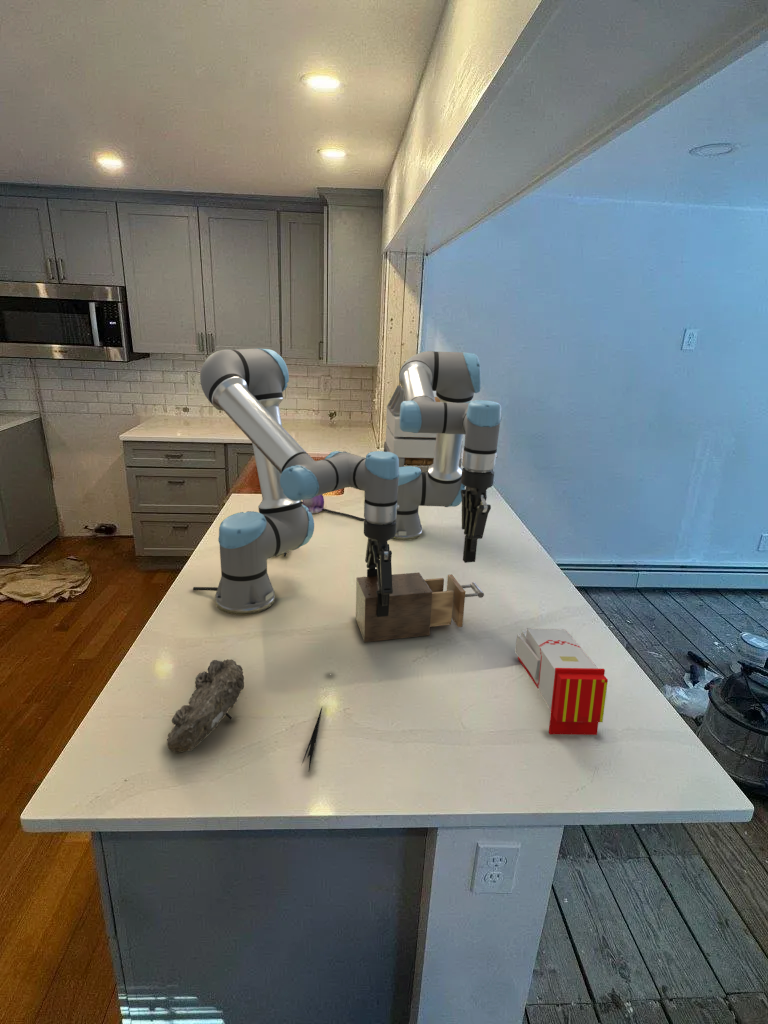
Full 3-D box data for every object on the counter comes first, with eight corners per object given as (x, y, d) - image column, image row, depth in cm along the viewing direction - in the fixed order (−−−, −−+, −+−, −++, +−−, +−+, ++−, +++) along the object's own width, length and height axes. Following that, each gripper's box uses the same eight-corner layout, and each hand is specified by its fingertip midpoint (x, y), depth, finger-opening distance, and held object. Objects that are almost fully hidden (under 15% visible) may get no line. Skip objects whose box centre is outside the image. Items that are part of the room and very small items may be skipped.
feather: (331, 679, 122) (336, 673, 122) (307, 777, 96) (313, 769, 95) (324, 675, 122) (329, 669, 121) (298, 772, 95) (304, 764, 95)
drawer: (470, 605, 150) (473, 572, 147) (484, 624, 142) (488, 589, 138) (394, 613, 146) (396, 578, 142) (404, 633, 137) (406, 597, 134)
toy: (561, 612, 132) (617, 675, 103) (556, 665, 135) (608, 741, 106) (510, 611, 132) (551, 674, 102) (505, 664, 134) (544, 741, 105)
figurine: (305, 516, 212) (305, 477, 207) (296, 507, 221) (296, 470, 216) (329, 512, 216) (329, 475, 211) (319, 504, 225) (319, 468, 220)
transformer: (382, 463, 289) (386, 382, 275) (445, 464, 293) (451, 384, 279) (390, 482, 257) (394, 392, 243) (460, 483, 261) (468, 394, 247)
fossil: (192, 660, 117) (244, 628, 112) (224, 691, 120) (276, 661, 115) (142, 746, 98) (202, 712, 93) (182, 779, 101) (242, 748, 96)
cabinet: (416, 613, 148) (419, 572, 144) (429, 635, 138) (432, 592, 134) (355, 619, 144) (356, 577, 140) (364, 642, 134) (365, 598, 130)
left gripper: (409, 537, 121) (404, 627, 128) (384, 502, 142) (381, 581, 149) (375, 539, 119) (372, 630, 126) (354, 503, 140) (353, 583, 148)
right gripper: (505, 476, 127) (493, 571, 135) (482, 461, 139) (473, 549, 147) (473, 477, 125) (464, 573, 133) (453, 461, 137) (445, 551, 145)
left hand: (377, 603), depth 138 cm, fingers closed on cabinet, 11 cm apart
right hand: (468, 560), depth 140 cm, fingers closed
